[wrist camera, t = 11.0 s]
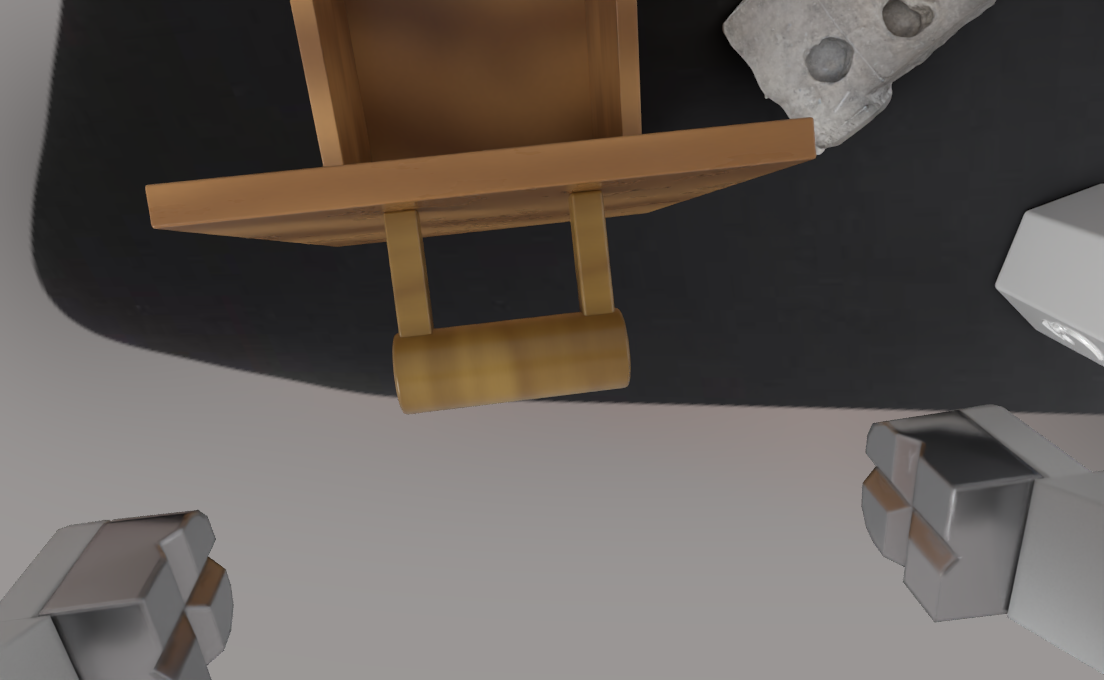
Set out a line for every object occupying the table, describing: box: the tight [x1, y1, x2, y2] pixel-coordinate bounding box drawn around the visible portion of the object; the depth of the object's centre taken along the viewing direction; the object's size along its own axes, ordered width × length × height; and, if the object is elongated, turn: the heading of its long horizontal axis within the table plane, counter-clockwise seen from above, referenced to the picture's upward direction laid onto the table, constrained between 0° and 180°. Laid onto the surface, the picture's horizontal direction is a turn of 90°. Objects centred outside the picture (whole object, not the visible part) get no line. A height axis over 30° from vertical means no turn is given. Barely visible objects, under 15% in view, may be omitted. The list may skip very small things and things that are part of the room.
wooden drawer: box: [290, 0, 642, 167], centre depth 32 cm, size 16×13×9 cm
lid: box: [145, 117, 816, 414], centre depth 23 cm, size 16×13×5 cm
